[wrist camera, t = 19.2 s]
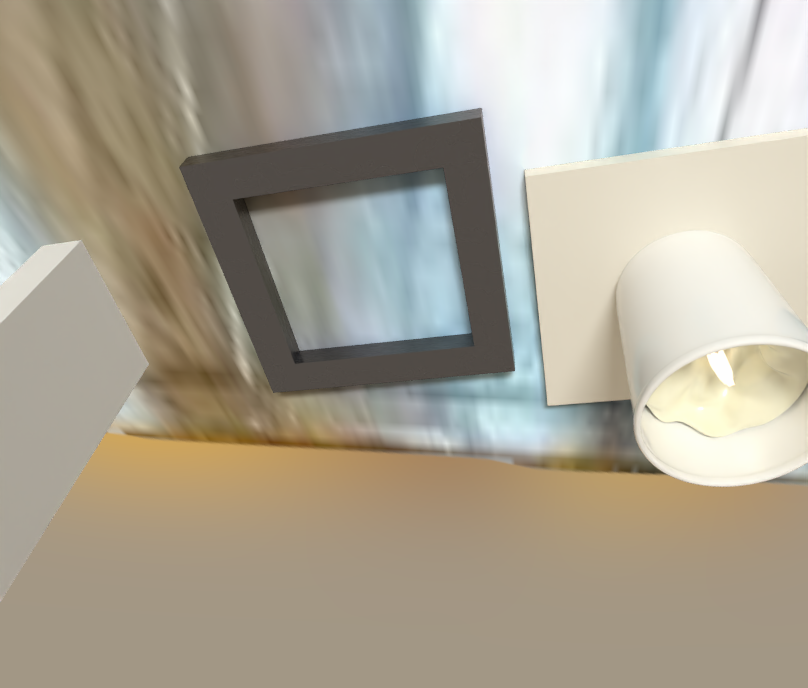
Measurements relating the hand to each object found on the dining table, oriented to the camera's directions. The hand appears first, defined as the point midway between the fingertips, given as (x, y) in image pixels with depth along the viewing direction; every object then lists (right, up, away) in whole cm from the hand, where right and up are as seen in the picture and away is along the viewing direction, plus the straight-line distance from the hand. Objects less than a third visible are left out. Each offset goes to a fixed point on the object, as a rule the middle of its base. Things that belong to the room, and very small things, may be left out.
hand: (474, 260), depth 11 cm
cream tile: (+16, +3, +32) cm, 36 cm away
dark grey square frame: (-4, +4, +34) cm, 34 cm away
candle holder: (+16, +2, +32) cm, 36 cm away
